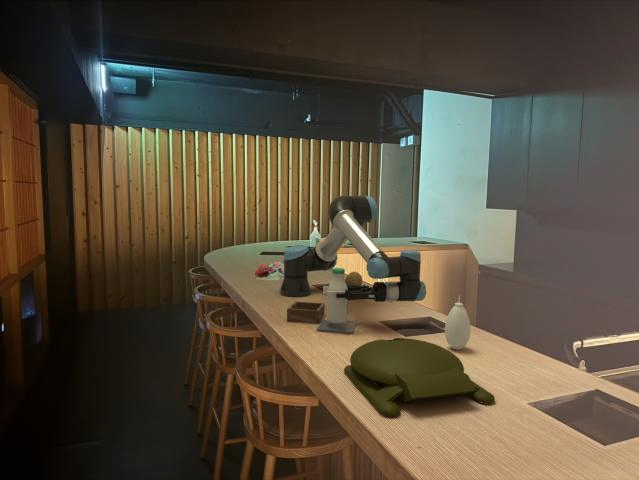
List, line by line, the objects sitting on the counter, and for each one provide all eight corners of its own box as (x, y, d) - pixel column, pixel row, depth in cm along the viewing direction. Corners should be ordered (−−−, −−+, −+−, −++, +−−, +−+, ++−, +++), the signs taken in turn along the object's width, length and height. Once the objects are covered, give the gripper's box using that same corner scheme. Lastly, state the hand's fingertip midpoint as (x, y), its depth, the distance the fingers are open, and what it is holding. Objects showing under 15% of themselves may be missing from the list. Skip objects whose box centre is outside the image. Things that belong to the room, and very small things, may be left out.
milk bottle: (345, 325, 167) (347, 270, 165) (325, 323, 169) (326, 269, 167) (348, 319, 175) (350, 267, 173) (328, 317, 176) (330, 266, 174)
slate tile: (323, 321, 180) (323, 319, 179) (356, 324, 177) (356, 322, 177) (316, 331, 167) (316, 329, 167) (352, 334, 164) (352, 332, 164)
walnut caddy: (294, 313, 191) (295, 301, 190) (324, 315, 188) (324, 303, 188) (286, 321, 179) (287, 308, 178) (318, 323, 176) (318, 311, 176)
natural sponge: (362, 293, 231) (363, 273, 229) (345, 292, 231) (345, 273, 230) (361, 289, 240) (362, 270, 238) (344, 288, 240) (345, 269, 239)
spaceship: (499, 405, 112) (501, 367, 111) (383, 421, 104) (385, 379, 103) (426, 355, 146) (427, 325, 145) (334, 364, 137) (335, 332, 136)
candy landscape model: (254, 273, 281) (254, 258, 280) (292, 273, 284) (292, 258, 283) (253, 281, 256) (253, 265, 255) (295, 281, 259) (295, 264, 258)
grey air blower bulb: (439, 346, 153) (441, 293, 151) (458, 343, 156) (460, 292, 154) (454, 354, 146) (457, 299, 144) (474, 351, 149) (477, 297, 147)
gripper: (392, 308, 164) (329, 309, 160) (377, 295, 184) (320, 296, 180) (393, 287, 163) (329, 288, 159) (377, 276, 183) (321, 277, 179)
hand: (325, 292), depth 170 cm, fingers closed on milk bottle, 8 cm apart
